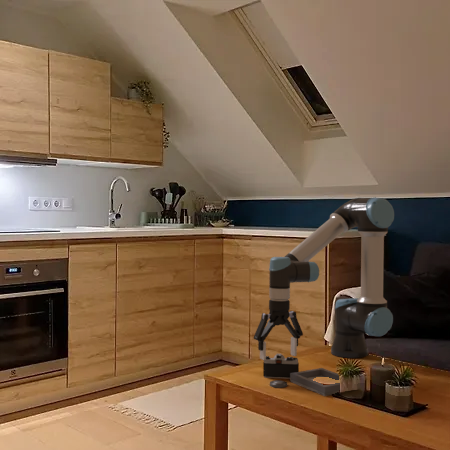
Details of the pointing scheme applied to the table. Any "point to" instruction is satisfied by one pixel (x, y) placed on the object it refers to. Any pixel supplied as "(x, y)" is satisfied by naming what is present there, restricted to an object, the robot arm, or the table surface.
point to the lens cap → (278, 384)
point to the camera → (280, 366)
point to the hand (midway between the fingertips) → (278, 357)
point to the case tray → (307, 381)
